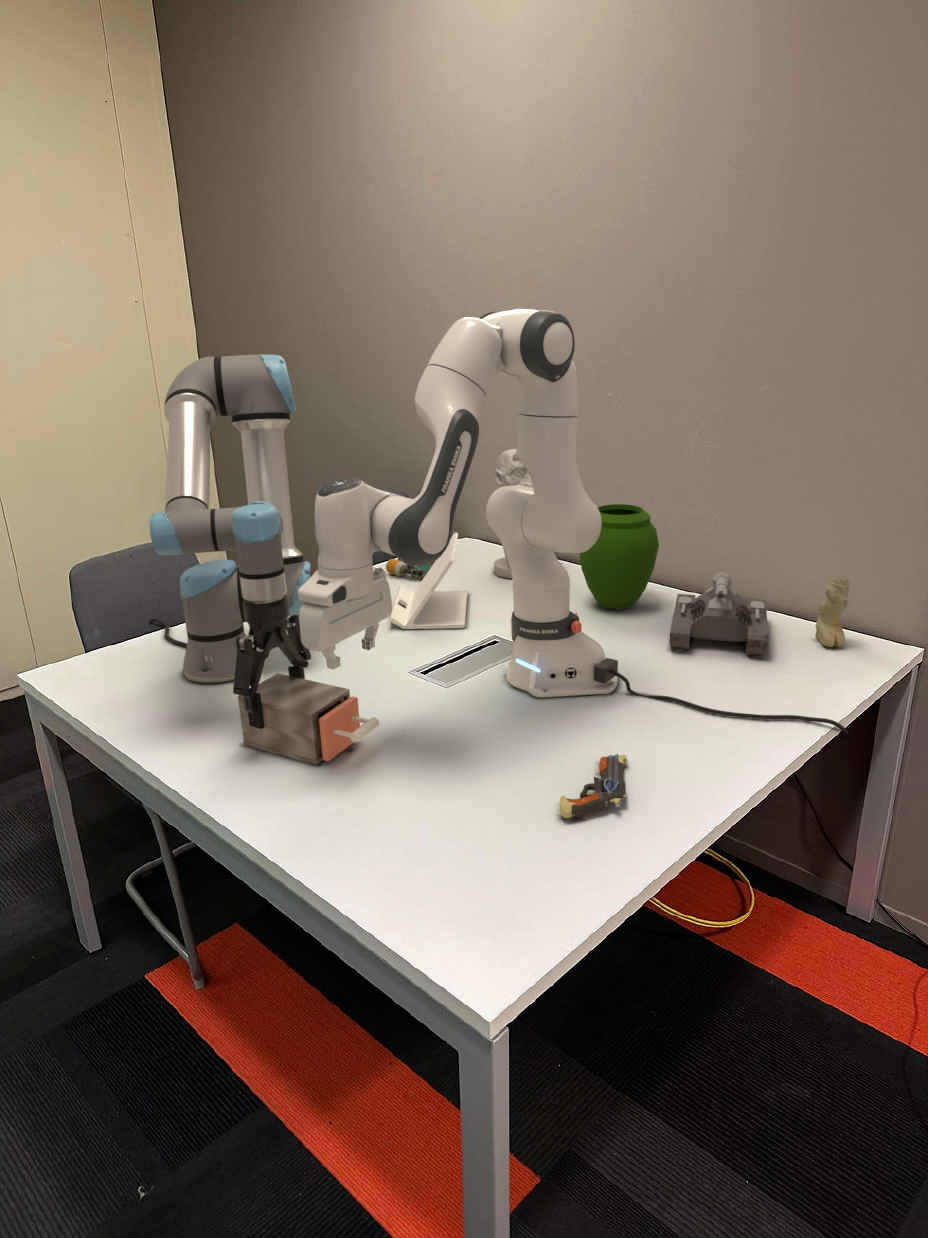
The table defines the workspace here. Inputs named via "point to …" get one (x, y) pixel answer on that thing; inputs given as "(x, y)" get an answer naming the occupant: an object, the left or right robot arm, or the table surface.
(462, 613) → the tablet stand
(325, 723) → the drawer
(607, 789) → the toy gun
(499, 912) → the table surface
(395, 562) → the spray gun
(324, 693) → the wooden drawer cabinet
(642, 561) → the vase
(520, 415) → the right robot arm
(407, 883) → the table surface
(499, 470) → the bust sculpture
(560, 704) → the table surface
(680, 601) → the toy
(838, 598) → the sculpture
